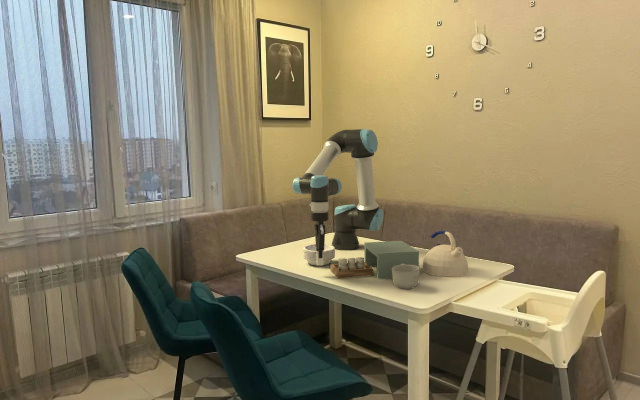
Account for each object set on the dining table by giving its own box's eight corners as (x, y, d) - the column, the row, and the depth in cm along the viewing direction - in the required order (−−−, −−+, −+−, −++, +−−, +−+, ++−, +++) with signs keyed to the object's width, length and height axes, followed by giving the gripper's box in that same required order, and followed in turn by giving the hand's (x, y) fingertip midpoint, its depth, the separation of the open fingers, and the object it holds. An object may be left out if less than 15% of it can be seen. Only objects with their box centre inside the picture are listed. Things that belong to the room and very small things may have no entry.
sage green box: (364, 265, 225) (364, 242, 223) (401, 263, 228) (401, 240, 227) (378, 278, 203) (378, 253, 202) (418, 276, 207) (418, 251, 205)
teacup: (419, 291, 186) (419, 271, 185) (390, 290, 188) (391, 270, 187) (419, 281, 200) (419, 262, 199) (392, 280, 202) (392, 261, 201)
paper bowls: (320, 269, 220) (320, 252, 218) (296, 263, 230) (296, 247, 229) (341, 262, 231) (341, 246, 230) (318, 257, 241) (318, 242, 240)
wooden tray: (330, 271, 216) (330, 256, 216) (364, 269, 220) (364, 254, 219) (337, 279, 205) (337, 263, 204) (373, 276, 209) (373, 260, 208)
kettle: (441, 279, 202) (442, 237, 199) (412, 267, 220) (413, 229, 218) (479, 273, 210) (480, 233, 207) (448, 262, 228) (449, 225, 226)
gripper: (308, 209, 212) (309, 261, 215) (313, 213, 199) (314, 269, 202) (325, 209, 213) (325, 260, 216) (331, 213, 201) (331, 268, 204)
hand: (320, 264), depth 209 cm, fingers closed
